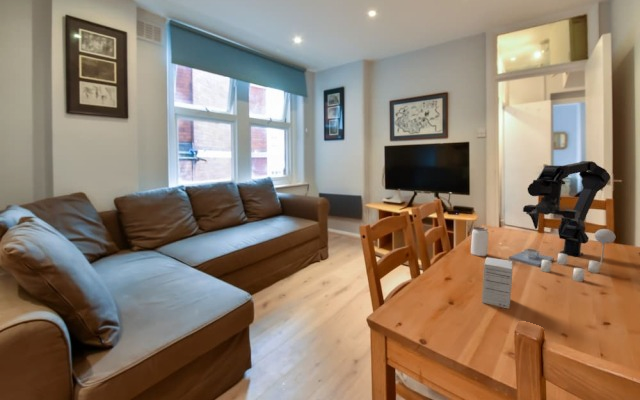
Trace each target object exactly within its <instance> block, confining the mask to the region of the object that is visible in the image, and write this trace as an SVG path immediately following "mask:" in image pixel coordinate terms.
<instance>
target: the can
mask: <svg viewBox="0 0 640 400" xmlns="http://www.w3.org/2000/svg"><path fill="white" fill-rule="evenodd" d="M488 242H489V232H488V228H486V227H481V226H479V227H477V226H475V227H473V229H472V231H471V243H470V244H471V245H470V246H471V247H470V253H471V255H473V256H476V257H485V256H487V255H488V244H489V243H488Z"/></svg>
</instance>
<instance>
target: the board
mask: <svg viewBox="0 0 640 400" xmlns="http://www.w3.org/2000/svg"><path fill="white" fill-rule="evenodd" d="M508 259H509V260H510V261H515V262H519V263H523V264H526V265H529V266H533V267H541V263H542V260H550V261H551V262H552V261H553V262H554V260H555V258H554V257H553V256H552V257H551V256H549V255H543V254H540V253H539V258H538V259H529V258H526V257H524V251H522V252H519V253H516V254H513V255H511V256H508Z"/></svg>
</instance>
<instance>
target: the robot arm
mask: <svg viewBox="0 0 640 400" xmlns="http://www.w3.org/2000/svg"><path fill="white" fill-rule="evenodd" d="M578 173H579V174H578ZM573 174H578V175H579V176H580V178H581V185H582V190H581V192H580V194H579V197H578V198H577V200H576V203H575V205H574V207H573V209H565V210H561V207H560V204H561V200H562V197H561V195H562V187H563V186H562V185H566V181H564V179H566V178H568V177H569V175H573ZM610 180H611V175H610V173H609V172H608V171H607V170H606V169H605V168H604V167H601V166H600V165H598V164H597V163H596V162H594V161H593V160H591V161H588V160H587V161H584V160H582V161H578V162H575V163H569V164H564V165H549V164H548V165H545V166H544V168H543V169H542V170H541V172H540V173H539V175H538V176H537V178H536V179H533V180H532V182H531V183H530V184H529V185H528V187H527V193H528V194H529V195H530V196H531V197H541V200H540V202H538V203H537V204H527V205H524V206H523V207H522V212H524V213H526V215H528V216H529V217H530V218H531V221H532V223H533V227H534V229H535V230H536V229H538V228H539V221H540V220H539V218H540V214H543V215H550V214H553V215H559V216H560V215H561V216H562V217H561V219H560V220H561V222H560V224H559V225H558V230H557V231H558V238H559V239H561V240H564V245H563V250H561V251H559V253H563V254H567V255H568V256H572V257H577V258H579V257H580V256H583V255H584V252H581V250H582V244H587V243H588V242H589V239H590V238H589V236H588V234H587V233H586V232H585V231H586V225H585V222H584V221H585V220H586V217H587V214H588V213H589V210H590V209H591V206H592V204H593V203H594V200H595V198H596V196H597V194H598V192H599V191H601V190H602V189H604V188H605V187H606V186H607V184H608V182H609V181H610Z"/></svg>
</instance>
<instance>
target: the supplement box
mask: <svg viewBox="0 0 640 400" xmlns="http://www.w3.org/2000/svg"><path fill="white" fill-rule="evenodd" d="M513 264H514V263H513V260H508V259H501V258H494V257H486V258H485V261H484V265H483V266H484V267H483V279H482V280H483V281H482V296H481V302H482V303H483V304H486V305H487V304H488V305H491V306H495V307H500V308H505V309H510V305H511V298H512V297H511V295H512V284H513V268H514V267H513V266H514V265H513Z"/></svg>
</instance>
